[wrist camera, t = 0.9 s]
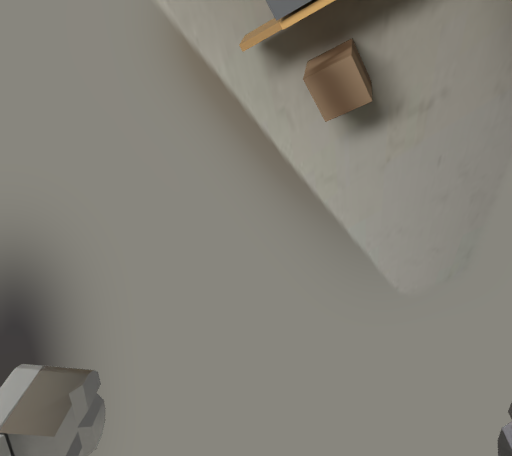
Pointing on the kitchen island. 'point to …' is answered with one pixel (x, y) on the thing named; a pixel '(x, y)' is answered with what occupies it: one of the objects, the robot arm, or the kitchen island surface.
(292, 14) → the side door
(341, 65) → the walnut block
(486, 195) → the kitchen island surface
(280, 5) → the grey box
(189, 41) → the kitchen island surface
